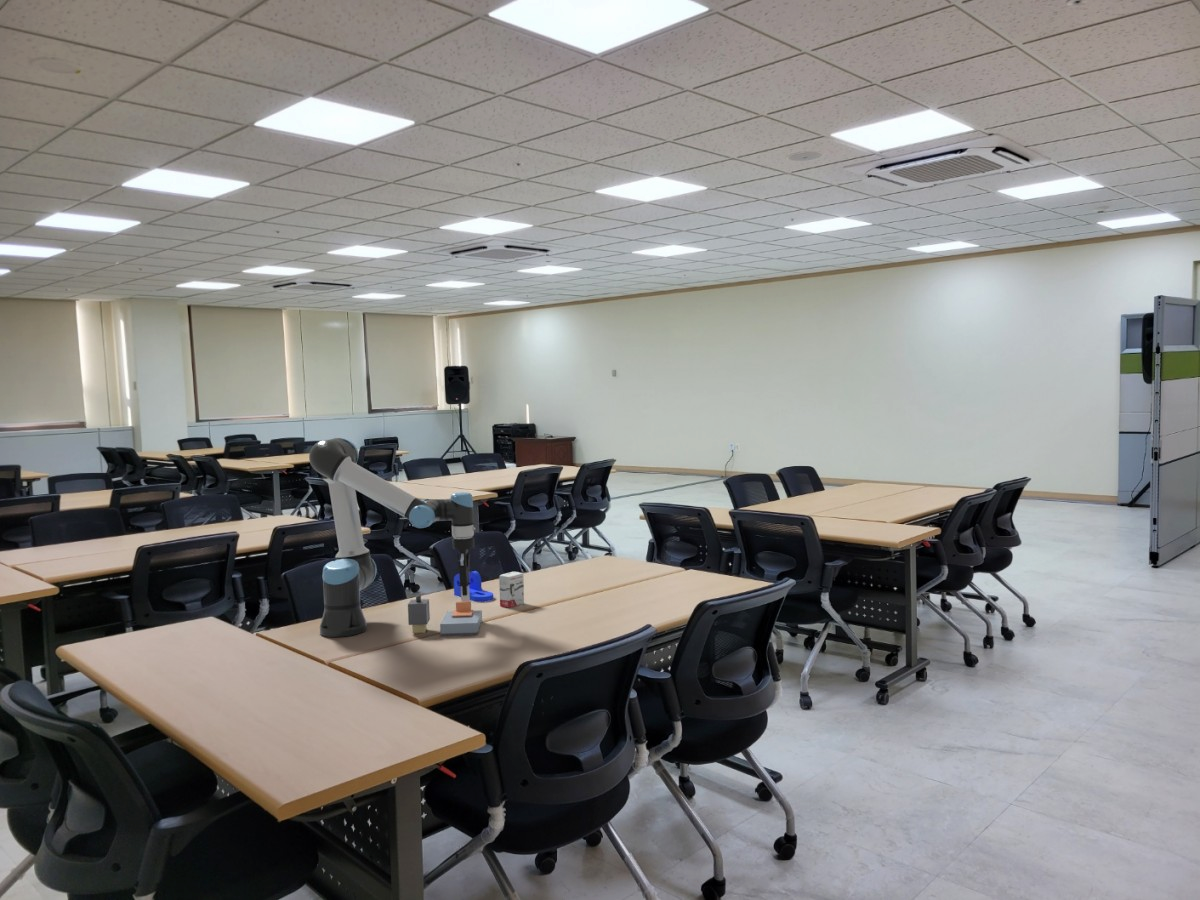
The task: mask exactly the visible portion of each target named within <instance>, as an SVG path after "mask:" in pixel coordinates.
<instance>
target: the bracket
mask: <svg viewBox="0 0 1200 900" xmlns="http://www.w3.org/2000/svg"><path fill="white" fill-rule="evenodd" d="M469 579H470V581H469V582H471V584H468V585H469V599H470V601H471V602H474V603H475V602H476V603H484V602H485V601H486V602H491V601H493V600H494V593H493V592H491V591H488V590H484V589H483V587H482V577H481V574H480V573H479V572H478V571H477V570H474V571H469ZM459 584H460V576H459V573H457V574H455V575H454V577H453V594H454V596H456V597H458V596H459V598H461V586H459Z"/></svg>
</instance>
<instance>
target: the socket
mask: <svg viewBox="0 0 1200 900" xmlns="http://www.w3.org/2000/svg"><path fill="white" fill-rule="evenodd" d="M453 612H454V610H453V611H452V610H451V611H449V610H447V611H446V613H445V614H444V616H443V618H442V620H441V621H440V624H439V625H440V626H439V628H440V629H439V630H440V637H454V636H457V637H459V636H460V637H461V636H478V634H479V631H480V629H481V627H482V624H483V610H481V609H480V610H473V613H472V616H459V617H452V614H453Z"/></svg>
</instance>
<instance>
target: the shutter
mask: <svg viewBox="0 0 1200 900" xmlns="http://www.w3.org/2000/svg"><path fill="white" fill-rule="evenodd" d="M453 611H454V612H453V614H452V617H459V616H472V613H473V611H474V609H472V601H471V600H470V601H466V602H461V601H455V610H453Z"/></svg>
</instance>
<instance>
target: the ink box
mask: <svg viewBox="0 0 1200 900" xmlns="http://www.w3.org/2000/svg"><path fill="white" fill-rule="evenodd" d="M498 577H499V578H498V580H499V583H498V584H499V606H500V607H503V608H508V609H509V608H513V607H517V606H520V605H523V604H525V590H524V589H525V586H524V573H523V572H519V571H511V572H506V573H503V574H500V575H499V576H498Z"/></svg>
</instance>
